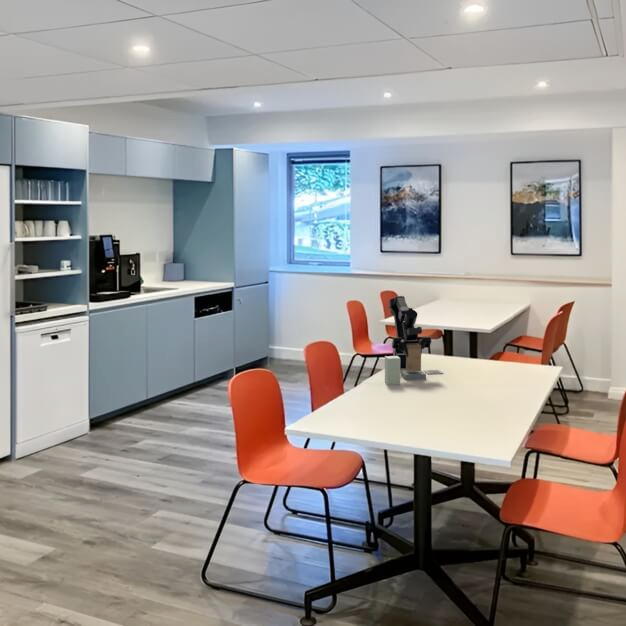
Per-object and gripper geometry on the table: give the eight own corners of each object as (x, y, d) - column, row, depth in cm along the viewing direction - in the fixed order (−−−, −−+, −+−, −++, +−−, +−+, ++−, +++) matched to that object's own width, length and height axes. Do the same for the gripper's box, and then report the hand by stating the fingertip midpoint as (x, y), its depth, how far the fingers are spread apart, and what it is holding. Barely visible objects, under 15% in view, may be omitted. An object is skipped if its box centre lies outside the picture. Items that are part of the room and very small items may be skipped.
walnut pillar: (406, 368, 367) (406, 343, 365) (418, 368, 367) (418, 343, 365) (408, 371, 361) (408, 345, 359) (420, 370, 361) (421, 345, 359)
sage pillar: (384, 382, 354) (384, 356, 353) (397, 381, 355) (397, 355, 354) (387, 385, 348) (387, 358, 347) (400, 384, 349) (400, 358, 348)
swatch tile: (423, 371, 379) (423, 369, 379) (438, 370, 380) (438, 369, 380) (427, 374, 371) (427, 373, 371) (443, 373, 372) (443, 372, 372)
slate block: (401, 376, 369) (401, 370, 368) (420, 376, 370) (420, 370, 369) (405, 380, 359) (405, 374, 358) (425, 380, 360) (426, 374, 359)
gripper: (393, 321, 364) (397, 347, 354) (430, 320, 366) (436, 346, 356) (389, 334, 373) (394, 360, 363) (426, 334, 374) (431, 359, 365)
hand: (414, 356), depth 362 cm, fingers closed on walnut pillar, 6 cm apart
